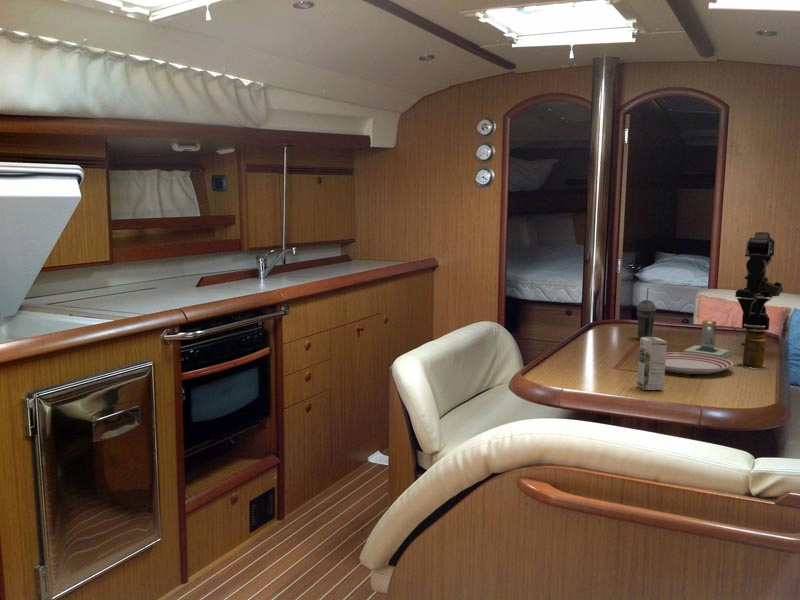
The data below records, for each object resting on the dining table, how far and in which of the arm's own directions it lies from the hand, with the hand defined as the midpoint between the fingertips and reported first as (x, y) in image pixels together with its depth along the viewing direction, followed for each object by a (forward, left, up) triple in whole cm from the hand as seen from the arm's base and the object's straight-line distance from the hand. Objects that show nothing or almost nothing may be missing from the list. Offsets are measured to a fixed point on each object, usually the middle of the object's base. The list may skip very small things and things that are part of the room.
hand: (752, 318), depth 259 cm
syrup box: (+73, -8, -13) cm, 75 cm away
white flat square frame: (+14, -10, -13) cm, 22 cm away
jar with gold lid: (+14, -10, -13) cm, 22 cm away
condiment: (+21, +6, -13) cm, 26 cm away
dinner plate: (+39, -9, -13) cm, 43 cm away
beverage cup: (+1, -37, -13) cm, 40 cm away
